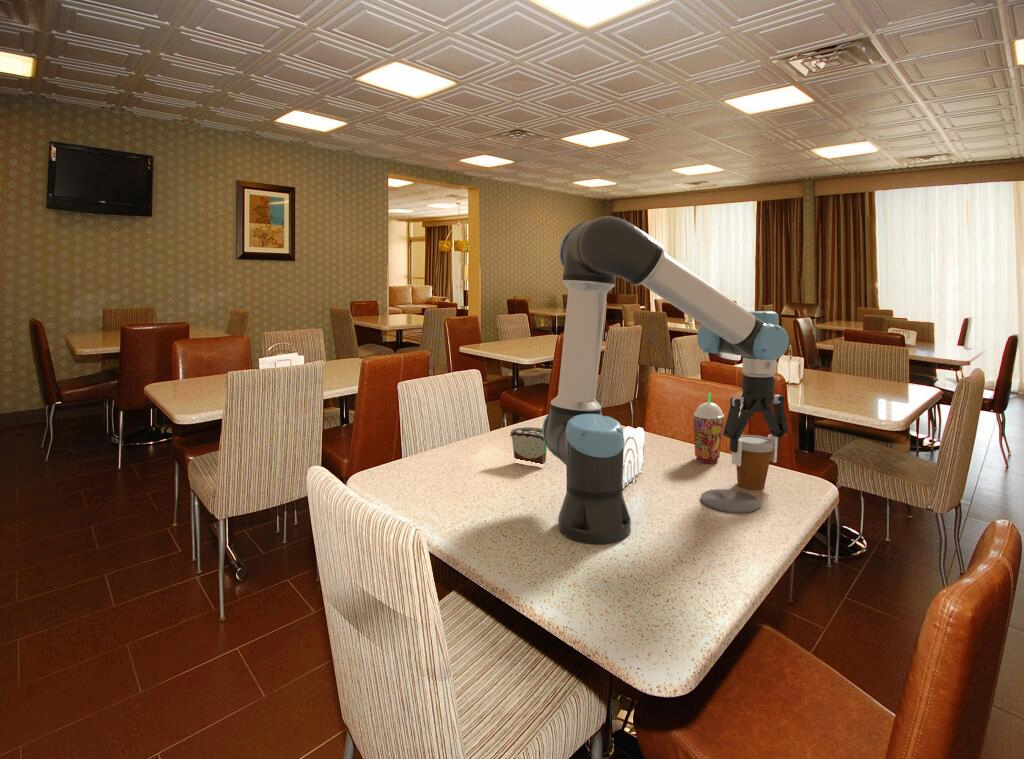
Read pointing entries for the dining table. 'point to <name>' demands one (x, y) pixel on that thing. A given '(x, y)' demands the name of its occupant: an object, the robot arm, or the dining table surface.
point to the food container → (529, 444)
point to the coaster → (730, 501)
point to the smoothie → (708, 431)
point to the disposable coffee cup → (754, 461)
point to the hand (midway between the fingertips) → (753, 462)
